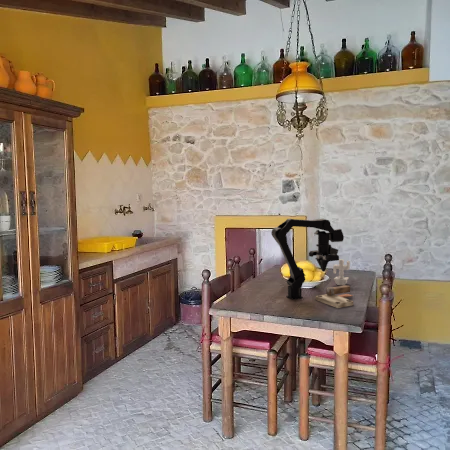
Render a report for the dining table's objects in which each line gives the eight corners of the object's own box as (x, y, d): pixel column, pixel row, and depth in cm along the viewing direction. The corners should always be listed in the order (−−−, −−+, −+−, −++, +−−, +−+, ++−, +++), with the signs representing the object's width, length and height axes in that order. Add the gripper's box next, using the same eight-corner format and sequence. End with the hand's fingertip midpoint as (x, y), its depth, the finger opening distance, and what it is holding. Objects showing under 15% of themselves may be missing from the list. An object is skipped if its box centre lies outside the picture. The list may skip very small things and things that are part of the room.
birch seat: (337, 308, 211) (337, 303, 211) (315, 299, 226) (315, 295, 226) (353, 305, 215) (353, 300, 215) (331, 297, 231) (331, 293, 230)
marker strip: (336, 298, 227) (336, 298, 227) (331, 297, 231) (331, 296, 231) (352, 296, 232) (352, 295, 232) (347, 294, 235) (347, 293, 235)
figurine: (334, 282, 263) (334, 257, 261) (350, 283, 259) (350, 258, 257) (331, 285, 256) (331, 259, 255) (348, 286, 252) (348, 260, 251)
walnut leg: (330, 295, 225) (330, 289, 225) (325, 293, 229) (325, 287, 228) (350, 291, 231) (350, 286, 231) (346, 290, 235) (346, 284, 234)
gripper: (347, 243, 227) (347, 272, 228) (324, 239, 243) (324, 266, 245) (330, 245, 222) (330, 275, 224) (308, 241, 239) (308, 269, 240)
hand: (323, 271), depth 233 cm, fingers closed
